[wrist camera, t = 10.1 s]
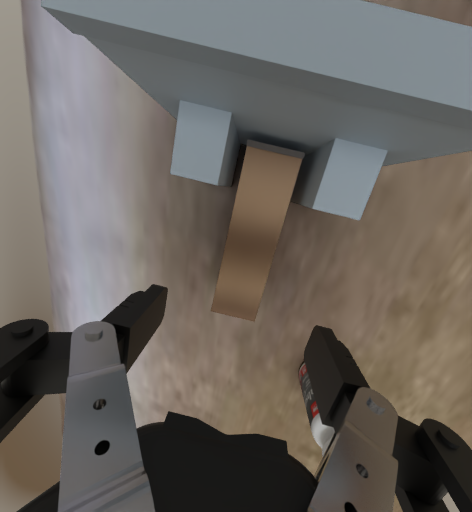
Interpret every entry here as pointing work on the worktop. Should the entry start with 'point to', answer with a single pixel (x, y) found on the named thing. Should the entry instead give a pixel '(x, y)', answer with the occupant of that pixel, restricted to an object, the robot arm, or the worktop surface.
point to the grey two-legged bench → (292, 84)
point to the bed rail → (255, 227)
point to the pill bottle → (314, 412)
